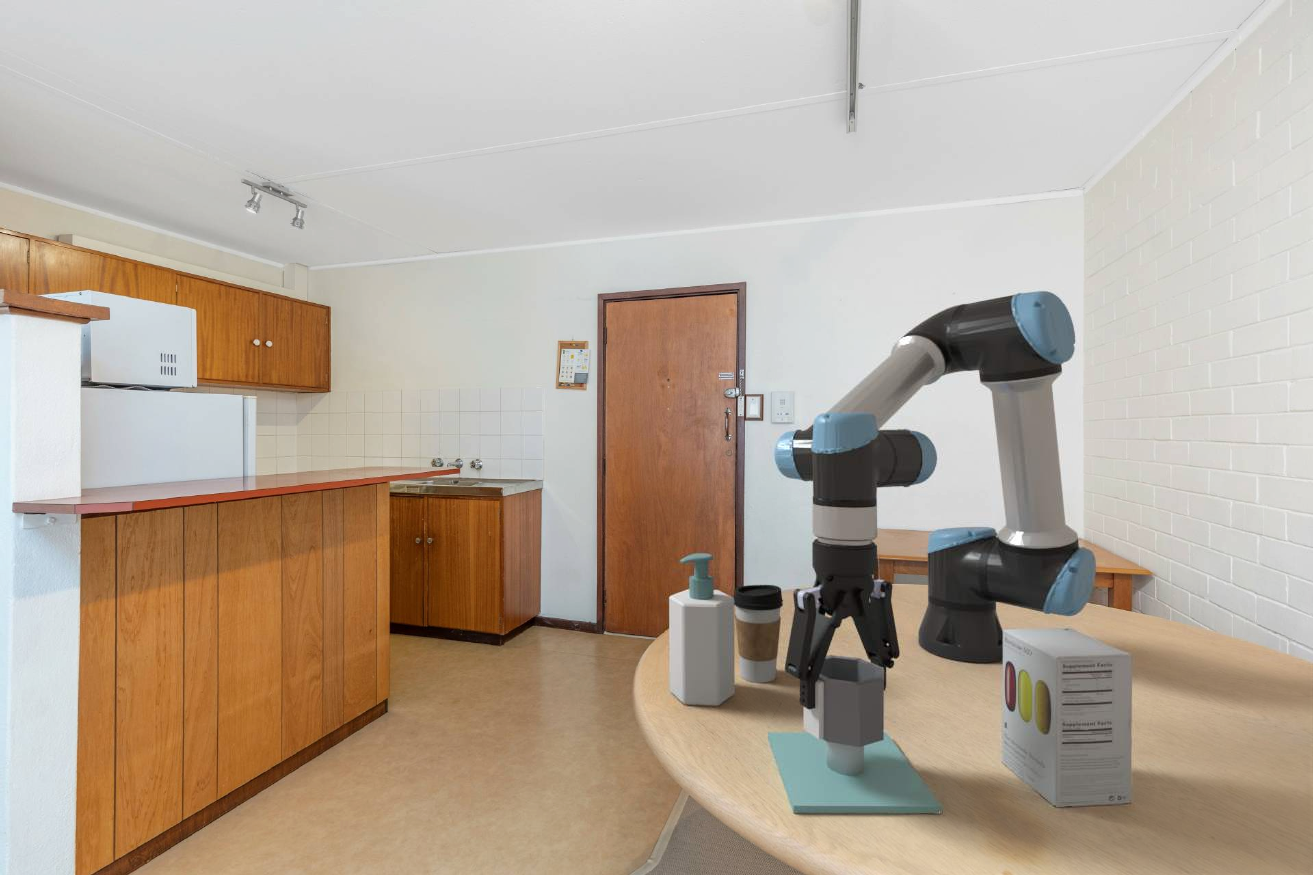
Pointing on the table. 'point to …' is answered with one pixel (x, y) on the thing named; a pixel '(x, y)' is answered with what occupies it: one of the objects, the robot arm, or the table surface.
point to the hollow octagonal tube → (852, 701)
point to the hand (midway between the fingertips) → (844, 724)
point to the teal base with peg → (848, 776)
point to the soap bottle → (701, 639)
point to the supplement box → (1067, 716)
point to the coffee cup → (758, 630)
